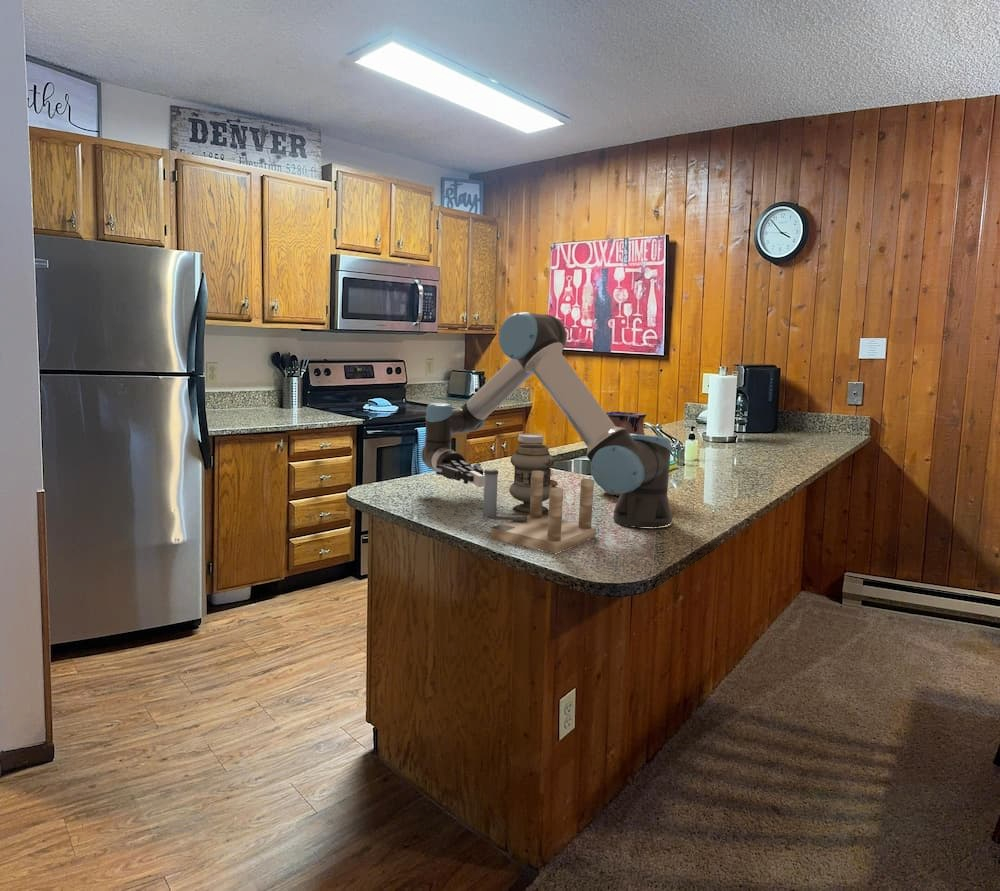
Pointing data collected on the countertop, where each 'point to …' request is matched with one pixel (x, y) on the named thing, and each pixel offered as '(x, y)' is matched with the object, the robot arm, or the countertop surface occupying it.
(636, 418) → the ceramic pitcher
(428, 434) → the robot arm
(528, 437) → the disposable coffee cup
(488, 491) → the folding leg
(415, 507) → the countertop surface
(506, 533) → the ash stool
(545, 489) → the apothecary jar
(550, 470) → the cup and saucer
